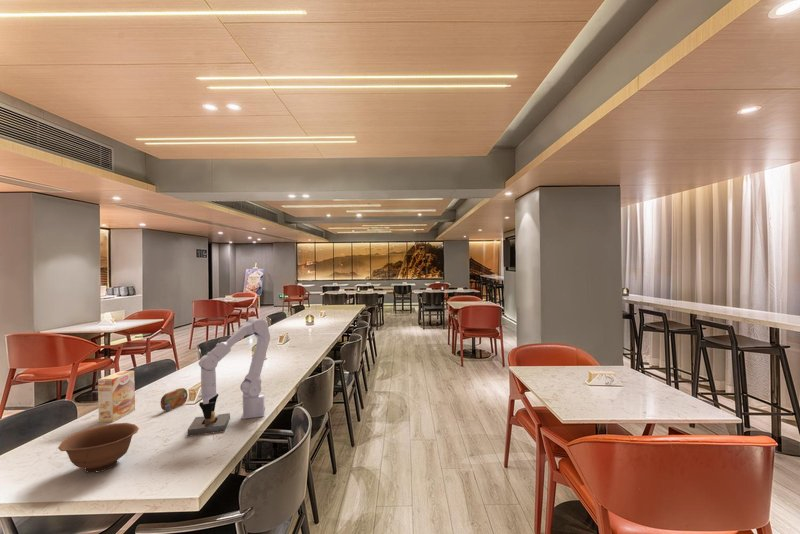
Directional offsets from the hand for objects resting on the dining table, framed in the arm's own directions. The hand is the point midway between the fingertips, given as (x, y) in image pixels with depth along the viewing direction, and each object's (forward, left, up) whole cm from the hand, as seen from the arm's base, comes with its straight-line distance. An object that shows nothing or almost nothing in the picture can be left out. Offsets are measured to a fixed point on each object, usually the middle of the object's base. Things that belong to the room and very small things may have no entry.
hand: (209, 415), depth 165 cm
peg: (0, 0, -5) cm, 5 cm away
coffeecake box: (+45, -30, -5) cm, 54 cm away
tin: (+22, -33, -5) cm, 40 cm away
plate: (0, 0, -5) cm, 5 cm away
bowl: (+30, +24, -5) cm, 39 cm away
